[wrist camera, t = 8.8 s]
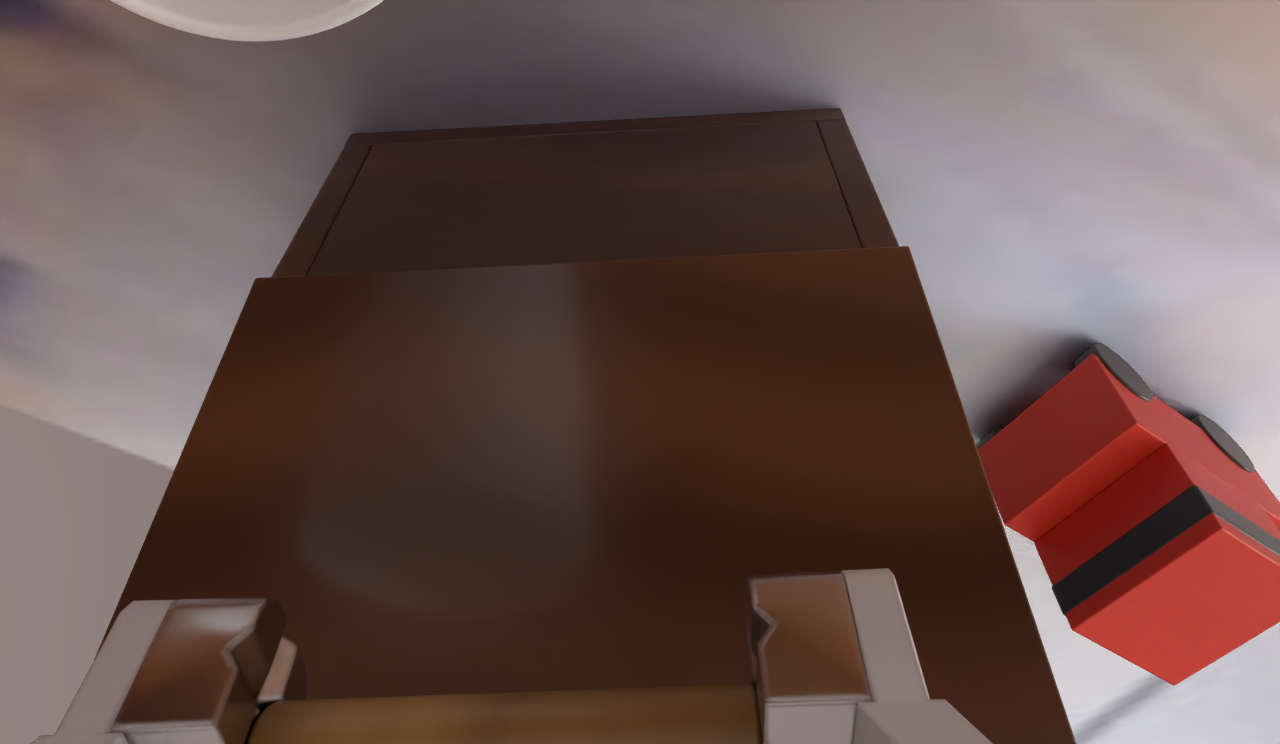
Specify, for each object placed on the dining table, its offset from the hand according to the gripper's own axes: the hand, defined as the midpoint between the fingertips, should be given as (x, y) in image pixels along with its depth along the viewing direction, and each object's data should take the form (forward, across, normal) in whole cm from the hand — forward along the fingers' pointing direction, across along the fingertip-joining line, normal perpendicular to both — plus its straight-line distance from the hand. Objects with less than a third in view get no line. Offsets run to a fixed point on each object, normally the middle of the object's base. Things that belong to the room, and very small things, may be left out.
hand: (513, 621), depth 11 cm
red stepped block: (+19, -17, +14) cm, 29 cm away
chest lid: (+4, 0, +4) cm, 5 cm away
